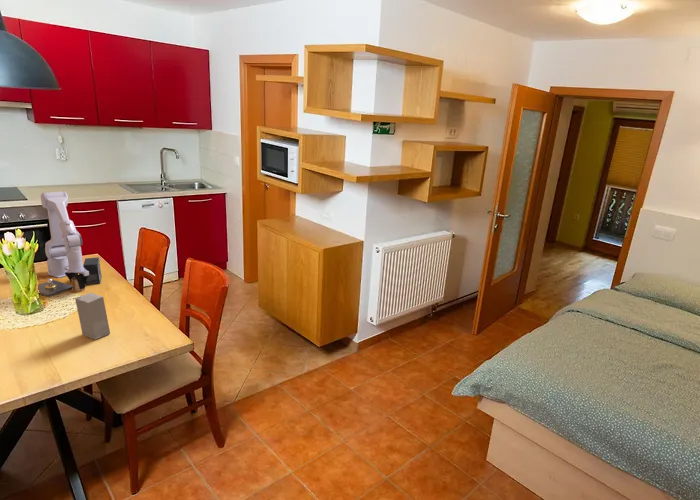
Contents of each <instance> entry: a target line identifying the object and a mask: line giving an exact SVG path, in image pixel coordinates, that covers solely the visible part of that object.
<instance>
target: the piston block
mask: <svg viewBox="0 0 700 500" xmlns="http://www.w3.org/2000/svg"><path fill="white" fill-rule="evenodd" d="M37 285H38V290H39V292H40V294H39V295H42V296H45V297H48V298H49V297H52V296H56V295H57V294H61V293H64V292H67V291H70V290H73V289H72V285H71V284H67V283H64V282H61V281H58V280H55V279H53V278H47V281H45V282H42V283H38V284H37Z"/></svg>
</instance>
